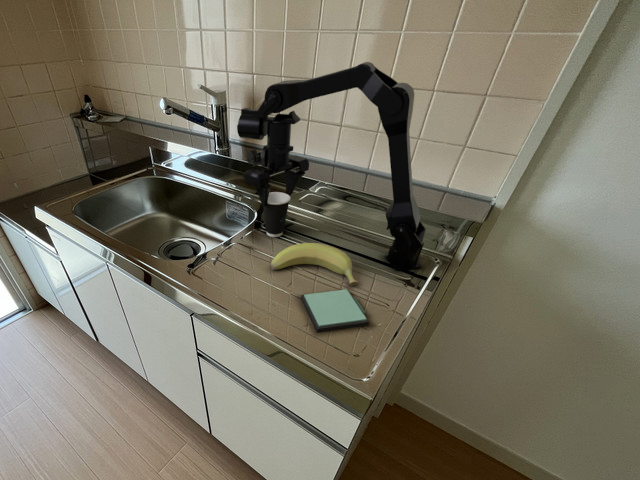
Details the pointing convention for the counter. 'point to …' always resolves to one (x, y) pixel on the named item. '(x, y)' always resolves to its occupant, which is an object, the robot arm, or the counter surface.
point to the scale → (334, 311)
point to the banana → (315, 258)
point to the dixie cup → (276, 213)
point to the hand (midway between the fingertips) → (276, 201)
